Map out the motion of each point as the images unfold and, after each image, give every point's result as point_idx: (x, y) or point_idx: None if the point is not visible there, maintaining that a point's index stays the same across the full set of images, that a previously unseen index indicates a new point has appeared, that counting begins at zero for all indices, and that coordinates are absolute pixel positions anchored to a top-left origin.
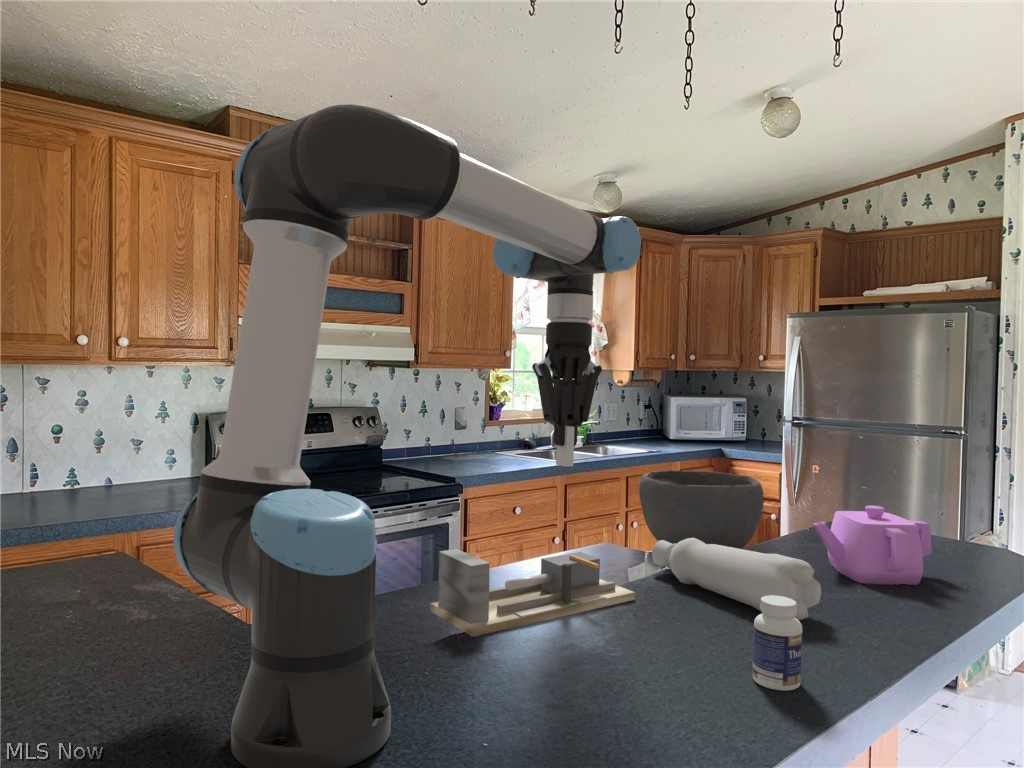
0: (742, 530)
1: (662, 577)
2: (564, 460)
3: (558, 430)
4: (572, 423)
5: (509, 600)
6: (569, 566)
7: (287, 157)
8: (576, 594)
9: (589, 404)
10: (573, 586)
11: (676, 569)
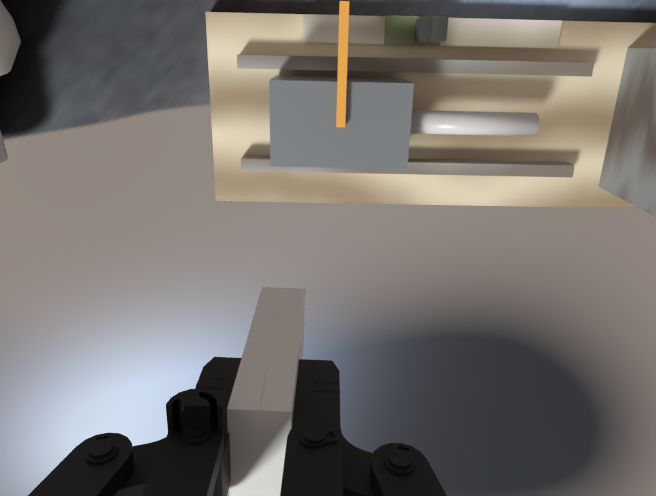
0: None
1: (22, 113)
2: (303, 314)
3: (338, 424)
4: (223, 443)
5: None
6: (440, 16)
7: None
8: (366, 57)
9: None
10: (360, 78)
11: (15, 32)
